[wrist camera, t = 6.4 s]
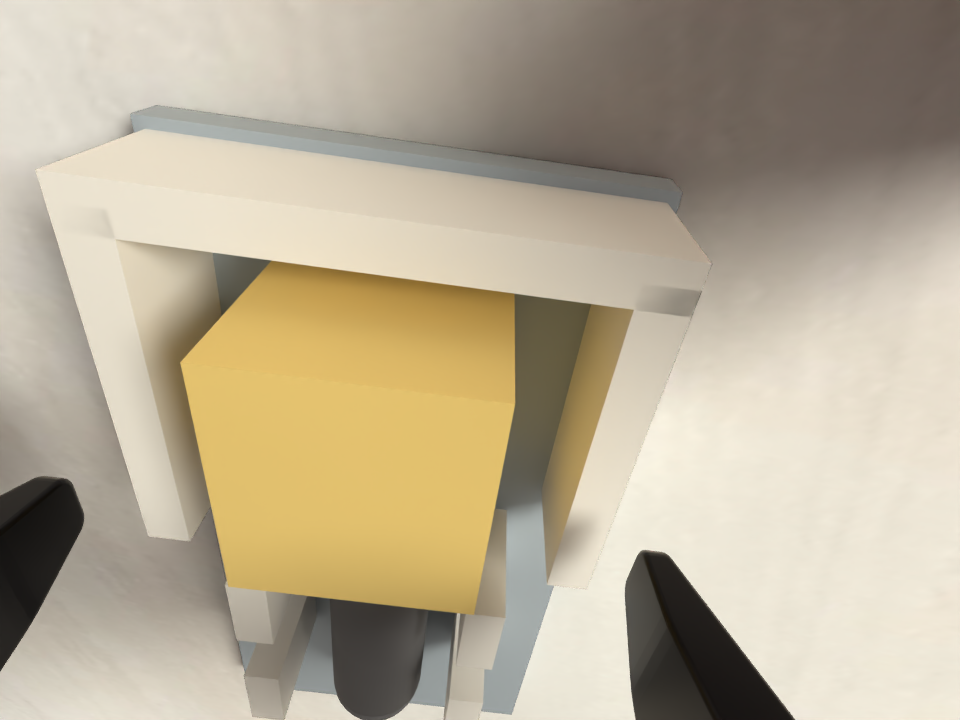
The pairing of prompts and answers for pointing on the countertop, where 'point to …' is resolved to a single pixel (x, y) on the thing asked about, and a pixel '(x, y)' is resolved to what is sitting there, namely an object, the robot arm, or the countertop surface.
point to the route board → (402, 254)
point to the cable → (357, 454)
